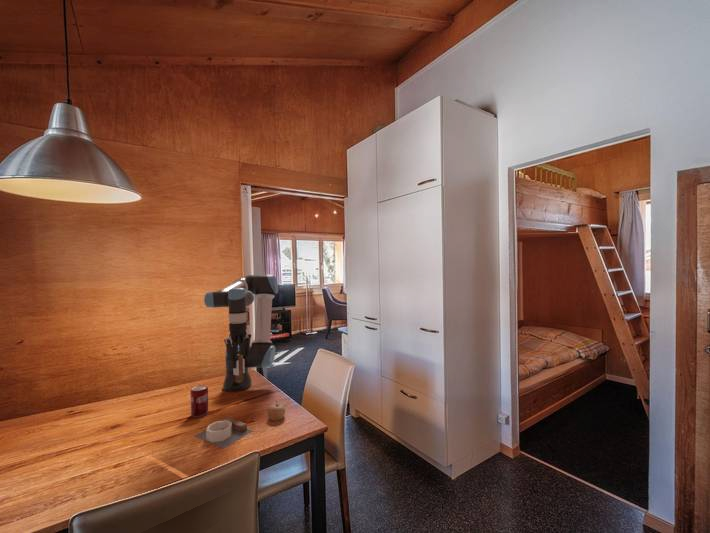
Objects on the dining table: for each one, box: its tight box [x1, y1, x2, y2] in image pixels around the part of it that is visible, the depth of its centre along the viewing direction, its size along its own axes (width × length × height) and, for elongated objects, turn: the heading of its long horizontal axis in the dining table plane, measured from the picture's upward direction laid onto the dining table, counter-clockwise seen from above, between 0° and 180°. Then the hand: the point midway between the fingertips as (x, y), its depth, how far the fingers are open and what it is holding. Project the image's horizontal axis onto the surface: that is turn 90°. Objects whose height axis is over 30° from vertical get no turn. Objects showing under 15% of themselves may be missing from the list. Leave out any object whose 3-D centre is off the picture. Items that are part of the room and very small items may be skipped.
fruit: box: [267, 400, 286, 422], centre depth 138 cm, size 8×7×8 cm
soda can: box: [189, 384, 209, 418], centre depth 146 cm, size 7×7×12 cm
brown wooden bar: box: [235, 354, 243, 383], centre depth 144 cm, size 2×2×12 cm
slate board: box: [194, 428, 254, 449], centre depth 126 cm, size 14×18×1 cm
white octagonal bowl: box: [205, 420, 232, 442], centre depth 124 cm, size 9×9×4 cm
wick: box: [222, 416, 248, 433], centre depth 130 cm, size 12×2×2 cm, turn 59°
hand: (239, 373), depth 144 cm, fingers closed on brown wooden bar, 2 cm apart
